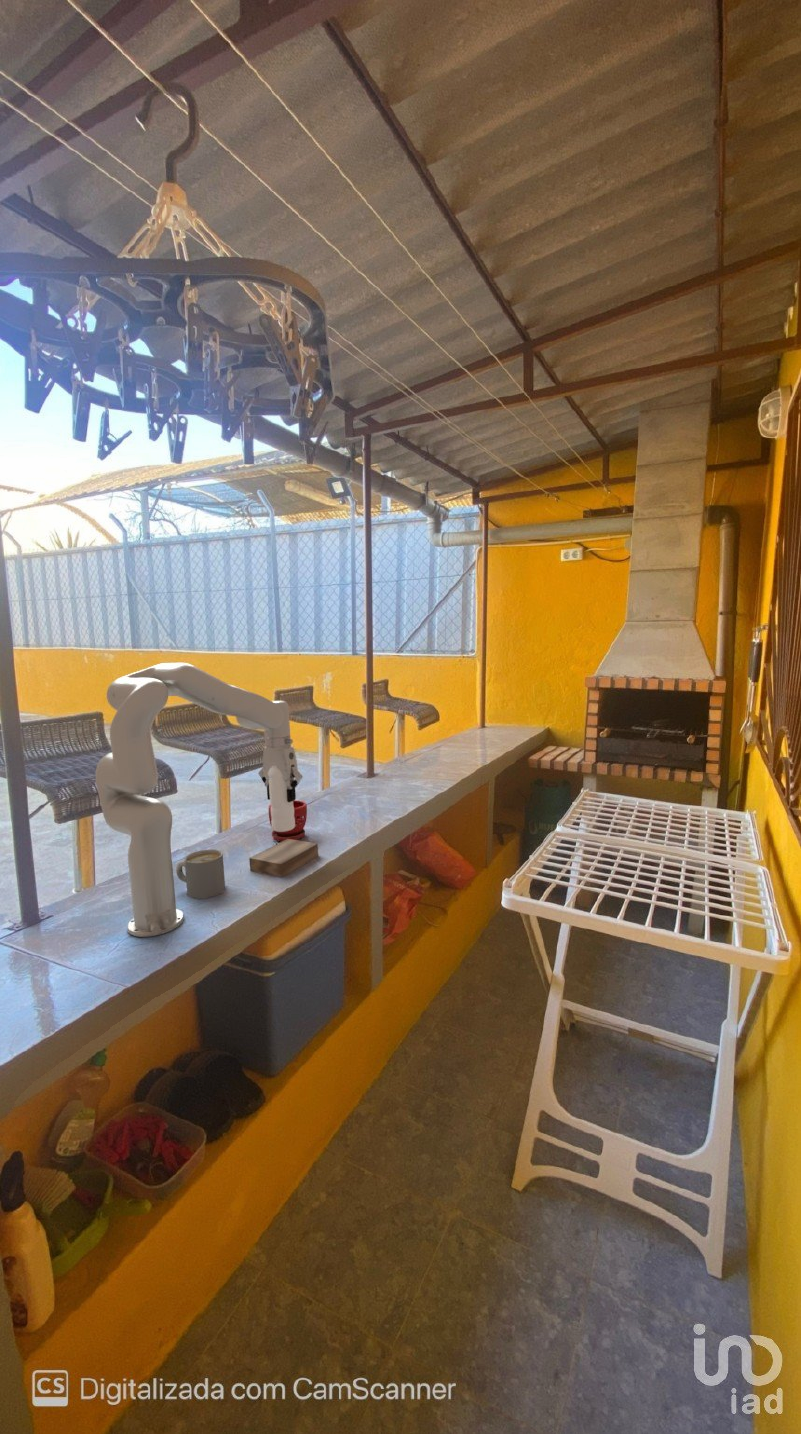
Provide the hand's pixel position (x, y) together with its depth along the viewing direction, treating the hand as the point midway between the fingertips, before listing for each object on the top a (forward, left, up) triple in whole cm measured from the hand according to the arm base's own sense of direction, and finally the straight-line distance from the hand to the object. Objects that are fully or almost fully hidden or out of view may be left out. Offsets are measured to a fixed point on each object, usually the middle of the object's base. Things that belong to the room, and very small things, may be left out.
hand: (281, 799), depth 170 cm
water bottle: (0, 0, -9) cm, 9 cm away
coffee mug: (-4, +26, -20) cm, 33 cm away
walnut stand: (0, 0, -20) cm, 20 cm away
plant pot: (+22, -10, -21) cm, 32 cm away
